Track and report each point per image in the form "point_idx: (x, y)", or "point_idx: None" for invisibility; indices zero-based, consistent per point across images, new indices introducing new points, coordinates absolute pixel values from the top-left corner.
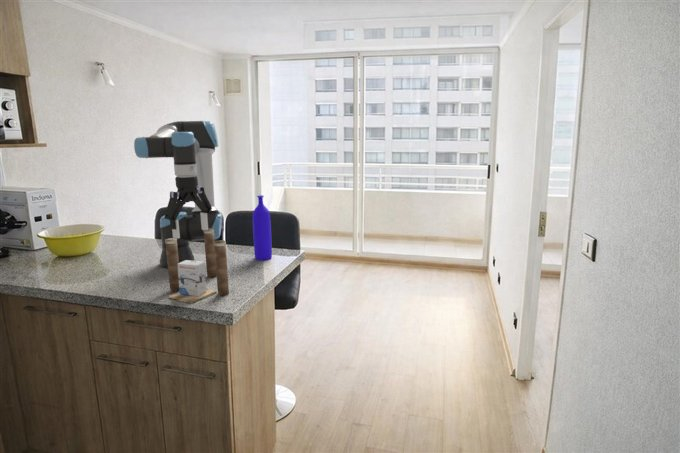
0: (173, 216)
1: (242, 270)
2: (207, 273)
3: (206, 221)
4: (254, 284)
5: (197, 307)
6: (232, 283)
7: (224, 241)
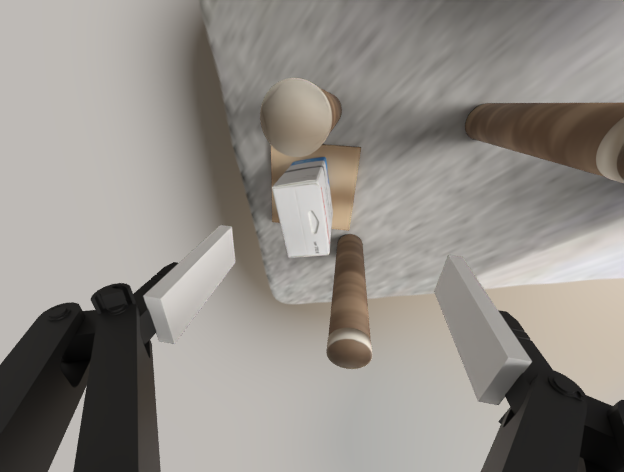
0: (139, 331)
1: (565, 180)
2: (474, 116)
3: (455, 336)
4: (431, 273)
5: (266, 241)
6: (426, 223)
7: (357, 365)
